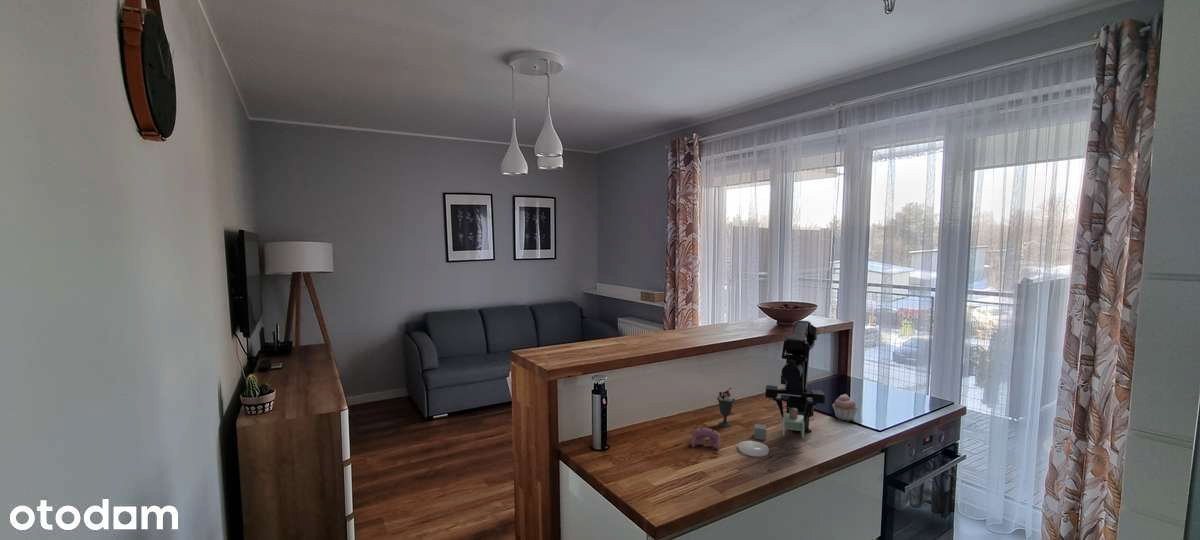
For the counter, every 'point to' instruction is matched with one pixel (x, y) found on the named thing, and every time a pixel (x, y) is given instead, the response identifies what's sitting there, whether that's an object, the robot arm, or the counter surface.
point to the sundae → (725, 406)
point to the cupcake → (845, 408)
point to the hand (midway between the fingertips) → (793, 418)
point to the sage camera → (793, 421)
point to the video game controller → (706, 432)
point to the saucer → (753, 448)
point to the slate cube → (760, 432)
